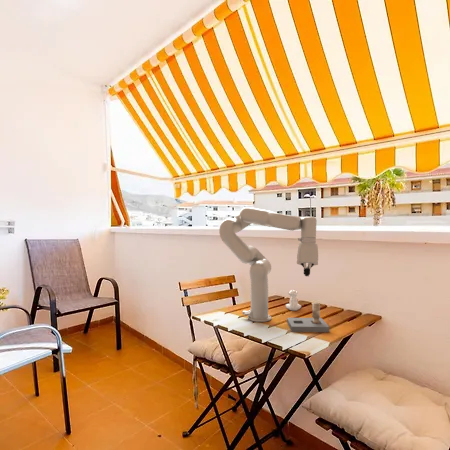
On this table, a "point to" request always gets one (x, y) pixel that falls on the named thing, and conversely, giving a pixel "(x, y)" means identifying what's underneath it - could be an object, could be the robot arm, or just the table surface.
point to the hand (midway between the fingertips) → (306, 275)
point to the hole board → (307, 325)
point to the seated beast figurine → (293, 301)
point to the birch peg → (316, 312)
